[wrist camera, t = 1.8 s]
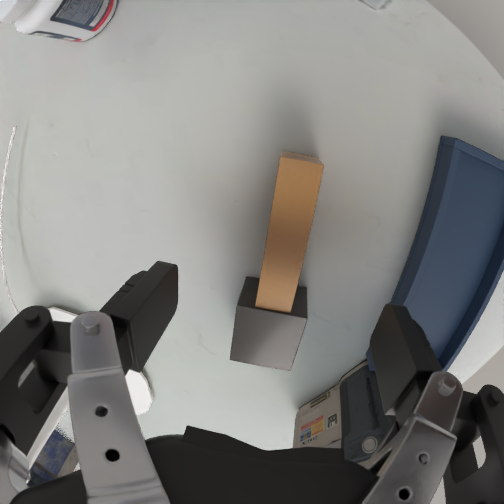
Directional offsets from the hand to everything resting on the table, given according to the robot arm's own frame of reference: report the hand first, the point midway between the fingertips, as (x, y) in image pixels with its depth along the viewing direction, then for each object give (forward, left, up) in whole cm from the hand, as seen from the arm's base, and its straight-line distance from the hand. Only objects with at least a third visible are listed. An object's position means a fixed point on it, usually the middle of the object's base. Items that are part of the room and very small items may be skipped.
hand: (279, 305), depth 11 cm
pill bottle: (-15, -17, -9) cm, 25 cm away
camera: (+16, +9, -9) cm, 20 cm away
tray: (+1, +13, -9) cm, 16 cm away
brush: (+3, 0, -9) cm, 9 cm away
